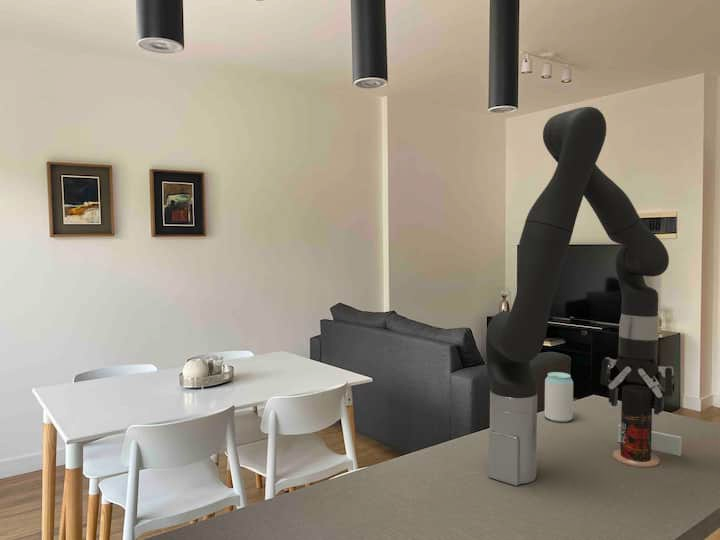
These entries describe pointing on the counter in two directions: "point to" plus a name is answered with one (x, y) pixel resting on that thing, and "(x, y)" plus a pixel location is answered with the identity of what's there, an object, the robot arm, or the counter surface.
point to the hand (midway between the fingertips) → (635, 409)
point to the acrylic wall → (662, 442)
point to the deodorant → (636, 423)
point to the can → (559, 397)
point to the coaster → (651, 463)
